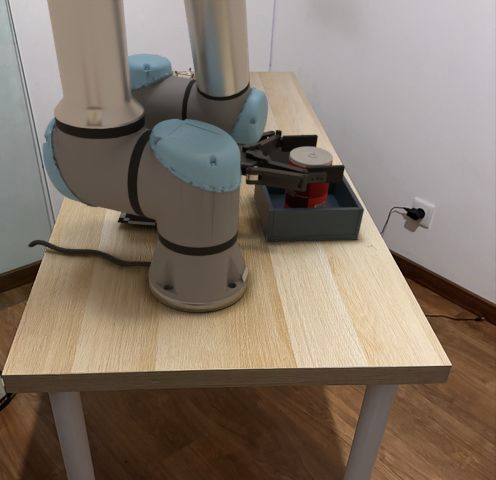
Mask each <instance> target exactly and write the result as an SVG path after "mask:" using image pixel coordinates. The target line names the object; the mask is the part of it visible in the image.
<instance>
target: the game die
mask: <svg viewBox="0 0 496 480" xmlns="http://www.w3.org/2000/svg"><path fill="white" fill-rule="evenodd" d="M174 74H175V76H178V77H184V78H190V79H196V78H195V72H194V73H193V71H192V67H189V68H188V70H186V71H185V70H184V71H181V72H178V71H177V70H174Z"/></svg>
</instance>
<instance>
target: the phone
mask: <svg viewBox="0 0 496 480" xmlns="http://www.w3.org/2000/svg"><path fill="white" fill-rule="evenodd" d="M281 148H282V147H280V149H279V150H277V151H275V152H273V153H271V154H269V155H267V157H270V158H271V160H272V161H275V162H279V163H283V164H287V165H288V162H289V155H290V152H282V151H281Z"/></svg>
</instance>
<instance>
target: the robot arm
mask: <svg viewBox="0 0 496 480" xmlns="http://www.w3.org/2000/svg"><path fill="white" fill-rule="evenodd" d="M46 2H47V7H48V14H49V20H50V25H51V32H52V37H53V38H52V39H53V43H54V49H55V54H56V55H55V56H56V61H57V66H58V73H59V79H60V85H61V91H62V98H61V99H60V100H59V101H58V103H57V104H56V106H55V107H54V109H53V115H54V116H53V118H52V119H51V120H50V122H49V123H48V124H47V125H46V128H45V130H44V134H43V137H44V139H45V142H43V143H42V159H43V160H42V161H43V165H44V168H45V171H46V174H47V176H48V179H49V180H50V182H51V184H52V185H53V187H54V188H55V189H56V190H57V192H58V193H60V194H61V195H62V196H64V197H65V198H67V199H69V200H71V201H73V202H77V203H81V204H83V205H86V206H87V207H91V208H102V209H106V210H113V211H114V212H115V211H116V212H120V213H121V212H124V213H129V214H133V215H138V216H143V217H147V218H151V219H154V220H156V221H157V226H156V228H157V229H156V230H157V242H156V245H155V248H154V251H153V254H152V258H151V261H143V260H142V261H141V260H123V259H120V258H117V257H115V256H113V255H111V254H110V253H107V252H104V251H101V250H97V249H91V248H66V247H61V246H58V245H55V244H53V243H52V242H48V241H46V240H43V239H33V240H31V242H29V243H28V245H27V247H28V248H34V247H36V246H43V247H45V248H48V249H50V250H51V251H55V252H57V253H61V254H67V255H89V256H96V257H97V256H98V257H101V258H103V259H106V260H108V261H110V262H112V263H114V264H116V265H119V266H123V267H141V268H142V267H143V268H145V267H146V268H149V269H148V286H149V290H150V292H151V294H152V295H153V297H154V298H155V299H157V300H158V301H159V302H160V303H161V304H163V305H165V306H168V307H169V308H172V309H174V310H178V311H182V312H190V313H208V312H215V311H218V310H222V309H225V308H227V307H230V306H232V305H233V304H235V303H236V302H238V301H239V300H240V299H241V298H242V297H243V296H244V295H245V293H246V291H247V288H248V278H249V277H248V275H249V267H248V264H246V262H245V259H244V257H243V253H242V250H241V246H240V244H239V239H238V235H239V219H240V218H239V216H240V197H241V196H240V195H241V184H242V179H243V176H245V184H246V185H248V186H255V185H264V186H271V187H277V188H283V189H290V190H296V191H306V185H307V184H318V183H339V182H342V180H343V174H344V173H345V168H346V166H345V165H344V164H332V165H327V166H306V169H302V168H298V167H294V166H291V165H287V164H283V163H279V162H275V161H272V160H271V158H270V157H267V155H269V154H271V153H273V152H275V151H277V150H279V149H280V147H282V148H281V151H282V152H291V151H292V150H293V149H295V148H299V147H318V146H317V145H318V139H319V136H318V134H291V135H290V134H288V135H287V134H284V135H282V134H283V131H282V130H281V129H276V130H268V131H265V130H266V125H267V121H268V116H269V115H268V114H269V100H268V98H267V93H266V92H265V91H264V90H260V89H257V88H256V87H251V82H250V81H251V75H250V73H251V72H250V57H249V56H250V55H249V38H248V37H249V35H248V19H247V18H248V16H247V15H248V14H247V0H183V4H184V11H185V18H186V23H187V30H188V37H189V44H190V51H191V57H192V64H193V70H194V75H195V78H196V79H190V78H184V77H178V76H176V75H174V71H173V67H172V63H171V61H170V59H169V58H167V57H166V56H162V55H159V54H154V53H137V54H136V53H135V54H131V55H129V52H128V40H127V29H126V17H125V6H124V0H46ZM344 175H345V174H344ZM299 179H300V180H299Z"/></svg>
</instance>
